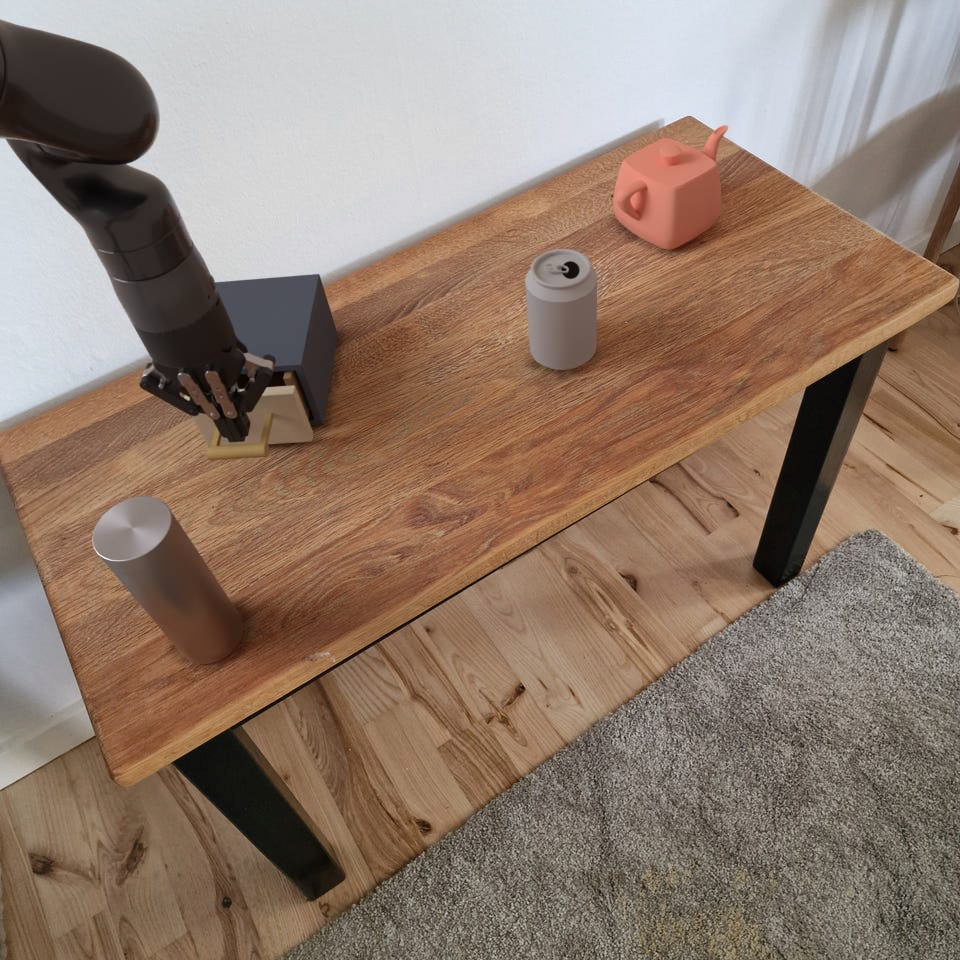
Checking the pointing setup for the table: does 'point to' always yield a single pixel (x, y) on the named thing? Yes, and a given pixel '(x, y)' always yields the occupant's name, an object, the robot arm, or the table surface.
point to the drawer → (263, 420)
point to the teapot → (669, 191)
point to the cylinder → (168, 578)
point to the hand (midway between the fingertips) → (239, 435)
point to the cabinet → (287, 329)
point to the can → (562, 309)
